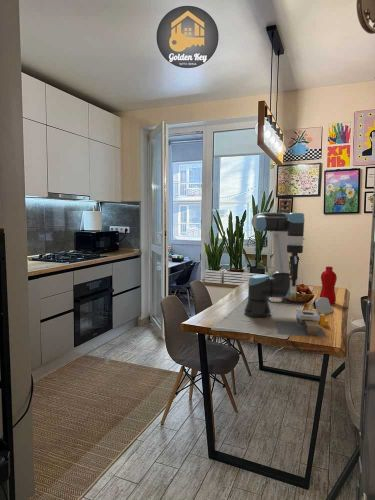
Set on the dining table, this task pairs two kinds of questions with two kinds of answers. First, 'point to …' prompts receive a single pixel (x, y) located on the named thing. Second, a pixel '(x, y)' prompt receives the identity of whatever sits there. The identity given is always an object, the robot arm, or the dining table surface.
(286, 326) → the mat
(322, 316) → the pipe clamp
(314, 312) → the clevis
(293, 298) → the brass pin
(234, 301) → the dining table surface
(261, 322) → the dining table surface
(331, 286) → the water bottle
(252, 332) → the dining table surface
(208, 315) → the dining table surface
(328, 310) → the grey rounded block
